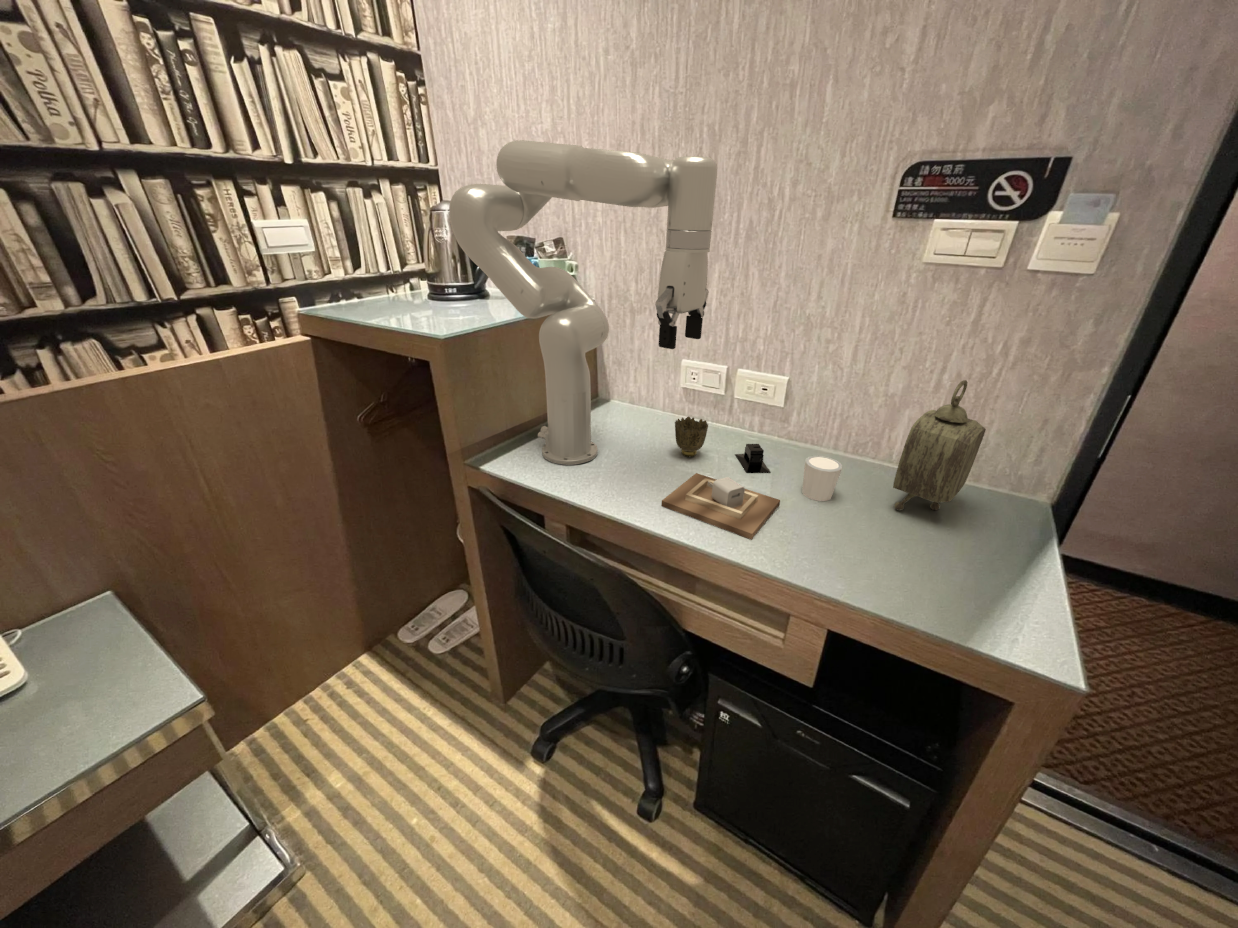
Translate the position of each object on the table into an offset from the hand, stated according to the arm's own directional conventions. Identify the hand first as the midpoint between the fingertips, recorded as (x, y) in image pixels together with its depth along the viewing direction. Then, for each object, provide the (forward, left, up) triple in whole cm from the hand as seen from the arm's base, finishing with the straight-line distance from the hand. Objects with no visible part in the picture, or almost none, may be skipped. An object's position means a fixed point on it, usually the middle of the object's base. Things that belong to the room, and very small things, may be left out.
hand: (680, 342), depth 93 cm
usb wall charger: (+13, -3, -27) cm, 31 cm away
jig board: (+14, -4, -28) cm, 32 cm away
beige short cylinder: (+27, +12, -28) cm, 41 cm away
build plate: (+11, +17, -29) cm, 35 cm away
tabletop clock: (+45, +20, -28) cm, 57 cm away
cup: (-2, +12, -28) cm, 31 cm away
